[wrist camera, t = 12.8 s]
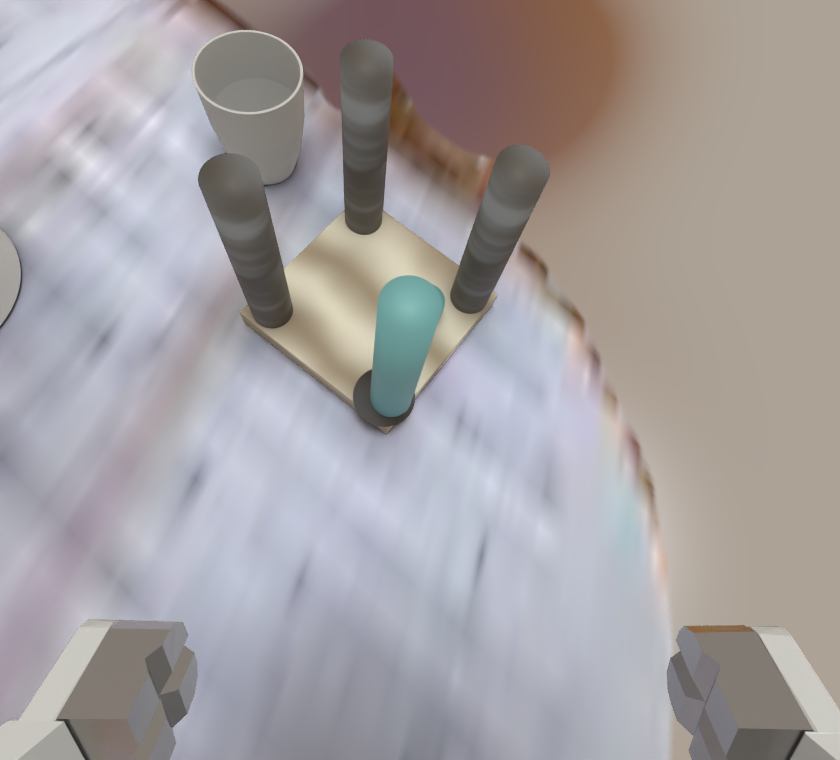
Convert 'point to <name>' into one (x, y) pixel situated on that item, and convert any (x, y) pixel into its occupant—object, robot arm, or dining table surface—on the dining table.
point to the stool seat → (363, 246)
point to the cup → (253, 98)
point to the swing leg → (402, 341)
